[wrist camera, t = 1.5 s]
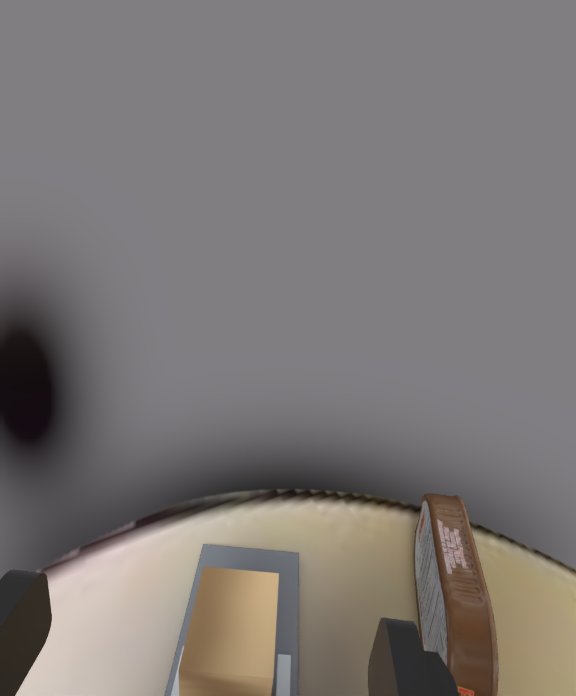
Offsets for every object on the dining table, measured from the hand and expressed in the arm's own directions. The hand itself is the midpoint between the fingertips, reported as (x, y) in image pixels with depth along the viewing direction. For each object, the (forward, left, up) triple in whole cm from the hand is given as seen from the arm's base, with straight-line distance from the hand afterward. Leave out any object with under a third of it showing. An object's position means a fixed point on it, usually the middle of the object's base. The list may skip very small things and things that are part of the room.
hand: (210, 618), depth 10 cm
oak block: (0, -7, -20) cm, 21 cm away
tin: (-14, -14, -21) cm, 29 cm away
